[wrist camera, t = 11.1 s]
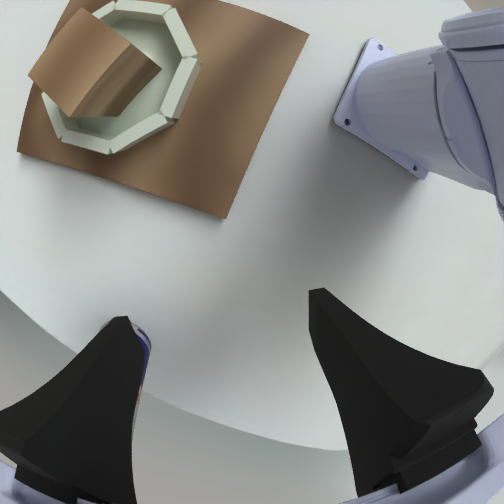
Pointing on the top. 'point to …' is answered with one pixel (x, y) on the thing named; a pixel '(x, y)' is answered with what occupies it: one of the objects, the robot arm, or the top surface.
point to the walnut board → (191, 109)
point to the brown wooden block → (92, 69)
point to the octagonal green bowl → (153, 94)
